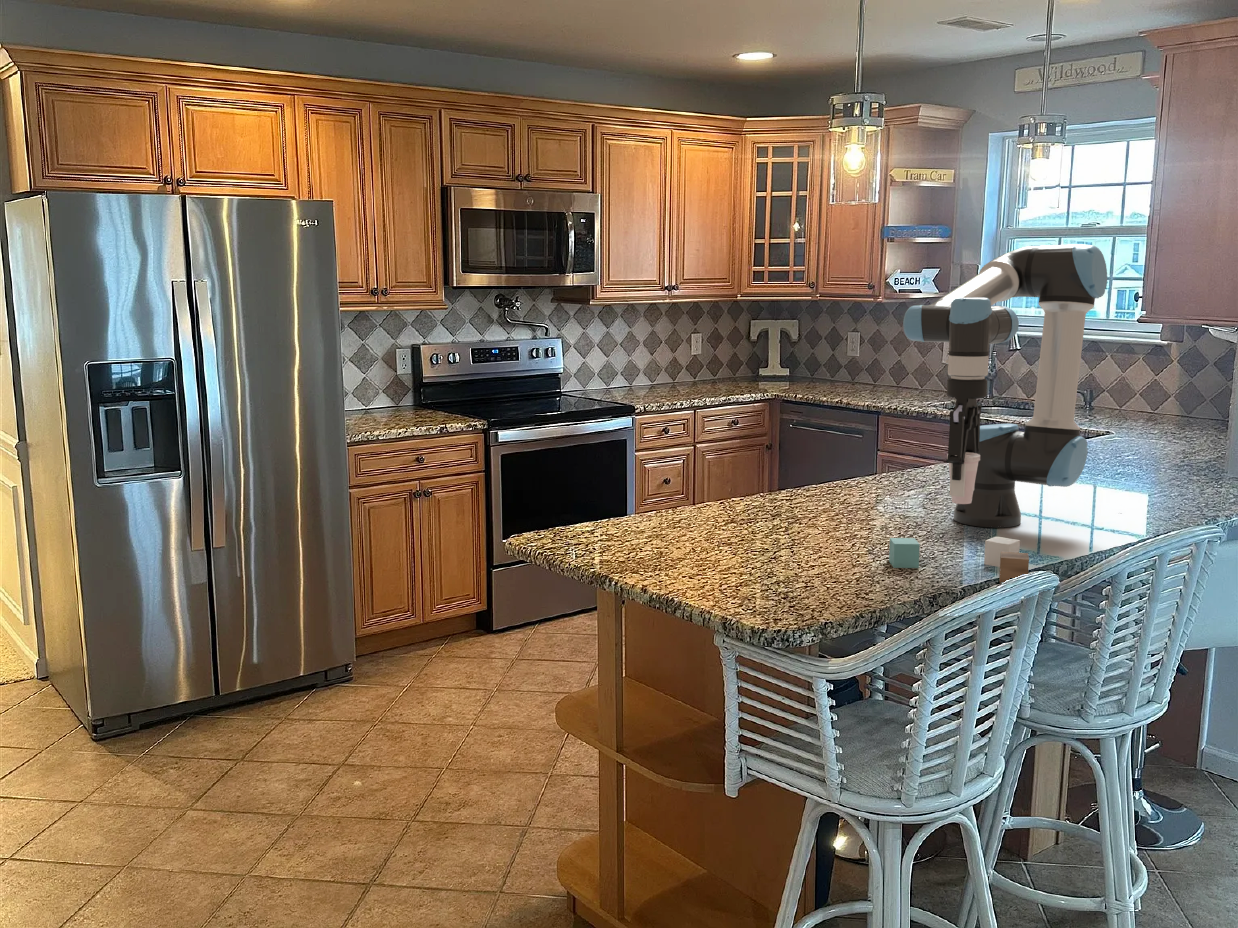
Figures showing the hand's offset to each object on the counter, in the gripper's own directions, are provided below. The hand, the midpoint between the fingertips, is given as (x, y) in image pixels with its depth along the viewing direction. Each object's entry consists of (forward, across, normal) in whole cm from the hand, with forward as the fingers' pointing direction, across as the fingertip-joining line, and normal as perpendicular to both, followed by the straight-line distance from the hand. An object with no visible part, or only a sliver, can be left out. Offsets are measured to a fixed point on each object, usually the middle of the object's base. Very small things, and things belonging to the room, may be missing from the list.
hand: (962, 492), depth 214 cm
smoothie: (+2, 0, 0) cm, 2 cm away
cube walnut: (+15, +5, +12) cm, 20 cm away
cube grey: (+15, -6, +7) cm, 18 cm away
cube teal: (+15, +5, -10) cm, 19 cm away
